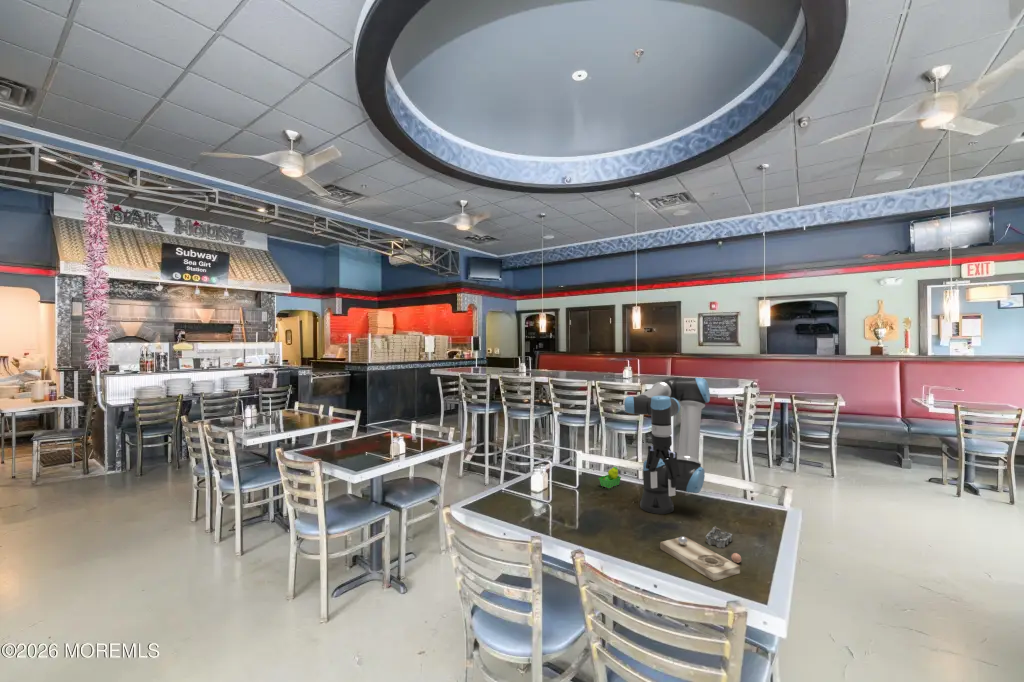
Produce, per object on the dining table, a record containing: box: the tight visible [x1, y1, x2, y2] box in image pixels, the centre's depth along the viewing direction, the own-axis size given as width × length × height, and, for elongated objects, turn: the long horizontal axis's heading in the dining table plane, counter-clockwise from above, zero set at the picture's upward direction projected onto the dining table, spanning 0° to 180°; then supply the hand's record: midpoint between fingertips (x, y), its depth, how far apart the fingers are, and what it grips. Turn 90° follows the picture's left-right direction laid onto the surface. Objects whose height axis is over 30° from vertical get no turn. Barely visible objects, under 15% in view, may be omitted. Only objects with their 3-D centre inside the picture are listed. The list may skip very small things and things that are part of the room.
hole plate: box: [659, 536, 741, 582], centre depth 155 cm, size 12×25×2 cm, turn 23°
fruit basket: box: [598, 466, 622, 489], centre depth 237 cm, size 11×9×11 cm
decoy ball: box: [730, 552, 742, 564], centre depth 153 cm, size 3×3×3 cm
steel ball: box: [678, 535, 687, 546], centre depth 162 cm, size 3×3×3 cm
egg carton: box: [704, 525, 733, 548], centre depth 169 cm, size 11×8×4 cm
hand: (662, 491), depth 171 cm, fingers open, 9 cm apart
